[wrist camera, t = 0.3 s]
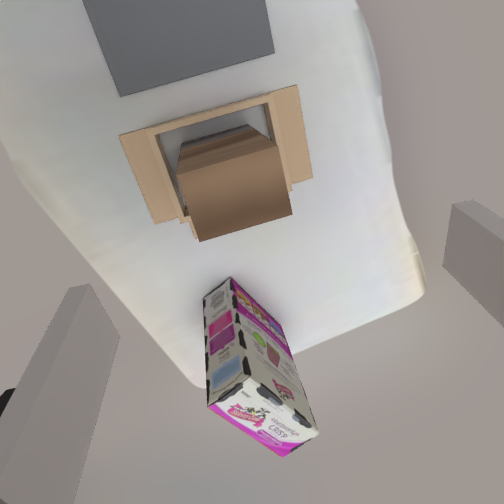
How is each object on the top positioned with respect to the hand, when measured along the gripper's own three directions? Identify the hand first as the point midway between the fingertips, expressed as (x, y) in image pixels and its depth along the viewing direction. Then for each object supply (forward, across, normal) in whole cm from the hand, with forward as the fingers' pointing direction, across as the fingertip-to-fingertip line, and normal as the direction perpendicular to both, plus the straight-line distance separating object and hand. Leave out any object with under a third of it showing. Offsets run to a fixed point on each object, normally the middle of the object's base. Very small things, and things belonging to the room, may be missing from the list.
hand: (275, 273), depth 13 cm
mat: (+27, -3, +10) cm, 29 cm away
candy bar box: (+24, -4, -24) cm, 34 cm away
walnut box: (+26, -2, -4) cm, 26 cm away
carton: (+26, -2, -5) cm, 26 cm away
